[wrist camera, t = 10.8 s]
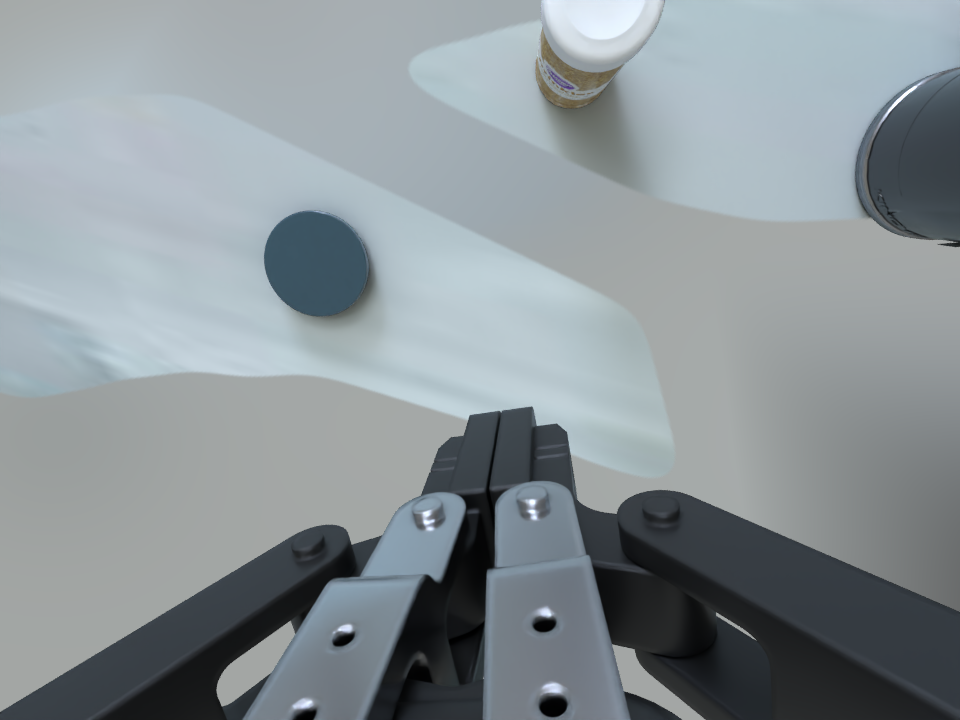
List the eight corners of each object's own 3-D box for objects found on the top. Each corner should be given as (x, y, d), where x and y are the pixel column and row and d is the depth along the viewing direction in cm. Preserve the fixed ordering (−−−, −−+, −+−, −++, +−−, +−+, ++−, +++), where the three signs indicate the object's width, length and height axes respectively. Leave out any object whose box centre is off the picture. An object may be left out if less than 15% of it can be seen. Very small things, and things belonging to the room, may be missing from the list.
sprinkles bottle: (524, 94, 34) (524, 37, 21) (552, 13, 32) (571, -102, 19) (594, 121, 34) (636, 81, 21) (625, 41, 32) (691, -54, 19)
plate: (308, 187, 36) (301, 187, 35) (391, 257, 37) (387, 259, 36) (252, 268, 38) (244, 271, 37) (333, 332, 39) (327, 337, 38)
